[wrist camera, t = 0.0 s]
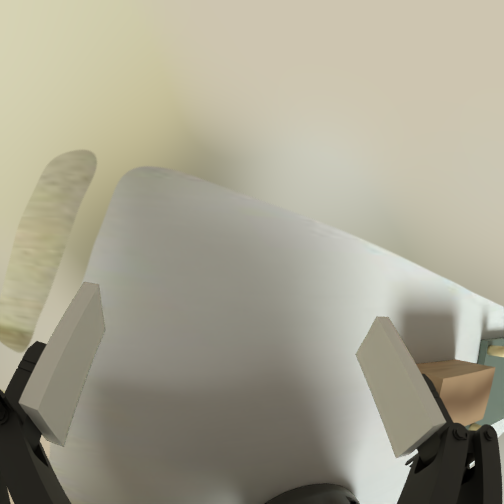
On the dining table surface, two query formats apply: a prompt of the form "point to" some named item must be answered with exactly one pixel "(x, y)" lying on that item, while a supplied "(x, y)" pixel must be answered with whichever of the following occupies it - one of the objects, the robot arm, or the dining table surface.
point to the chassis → (500, 399)
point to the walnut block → (461, 387)
